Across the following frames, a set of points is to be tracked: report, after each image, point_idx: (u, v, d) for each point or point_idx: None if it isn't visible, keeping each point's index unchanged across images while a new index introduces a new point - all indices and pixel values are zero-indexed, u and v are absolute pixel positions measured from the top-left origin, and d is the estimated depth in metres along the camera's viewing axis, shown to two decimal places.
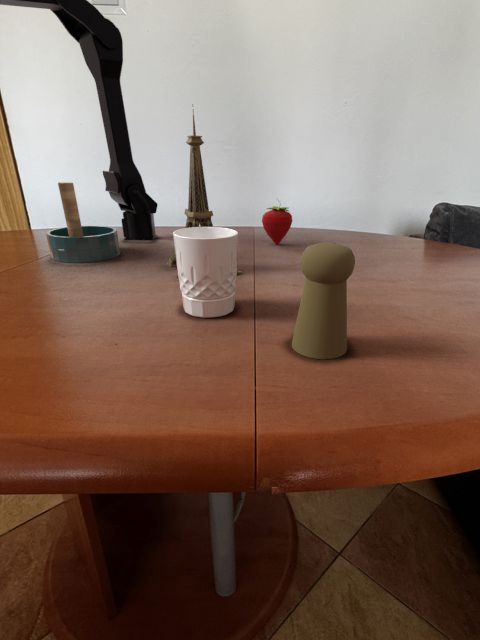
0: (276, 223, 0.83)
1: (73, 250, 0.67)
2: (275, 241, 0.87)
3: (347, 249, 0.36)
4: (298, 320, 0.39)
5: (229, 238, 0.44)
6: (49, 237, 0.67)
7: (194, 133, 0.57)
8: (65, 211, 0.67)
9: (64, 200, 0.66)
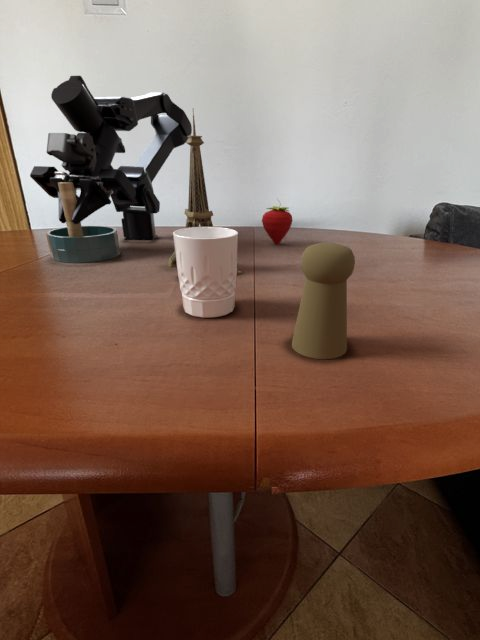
0: (276, 223, 0.83)
1: (73, 250, 0.67)
2: (275, 241, 0.87)
3: (347, 249, 0.36)
4: (298, 320, 0.39)
5: (229, 238, 0.44)
6: (49, 237, 0.67)
7: (194, 133, 0.57)
8: (65, 211, 0.67)
9: (64, 200, 0.66)
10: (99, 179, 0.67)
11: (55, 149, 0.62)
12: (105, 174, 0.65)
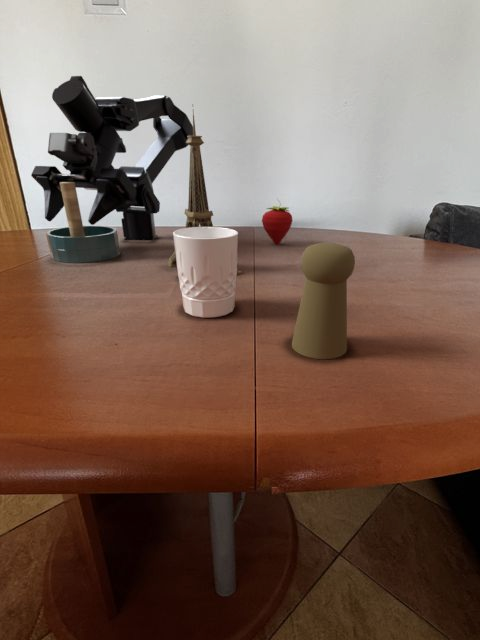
0: (276, 223, 0.83)
1: (73, 250, 0.67)
2: (275, 241, 0.87)
3: (347, 249, 0.36)
4: (298, 320, 0.39)
5: (229, 238, 0.44)
6: (49, 237, 0.67)
7: (194, 133, 0.57)
8: (67, 211, 0.67)
9: (66, 199, 0.66)
10: (84, 178, 0.69)
11: (56, 149, 0.63)
12: (106, 174, 0.65)
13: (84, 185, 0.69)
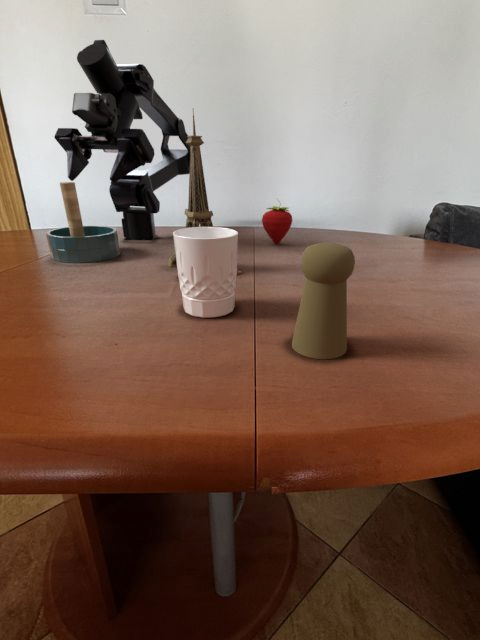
0: (276, 223, 0.83)
1: (73, 250, 0.67)
2: (275, 241, 0.87)
3: (347, 249, 0.36)
4: (298, 320, 0.39)
5: (229, 238, 0.44)
6: (49, 237, 0.67)
7: (194, 133, 0.57)
8: (67, 211, 0.67)
9: (66, 199, 0.66)
10: (105, 139, 0.72)
11: (80, 108, 0.66)
12: (127, 133, 0.69)
13: (105, 146, 0.73)
